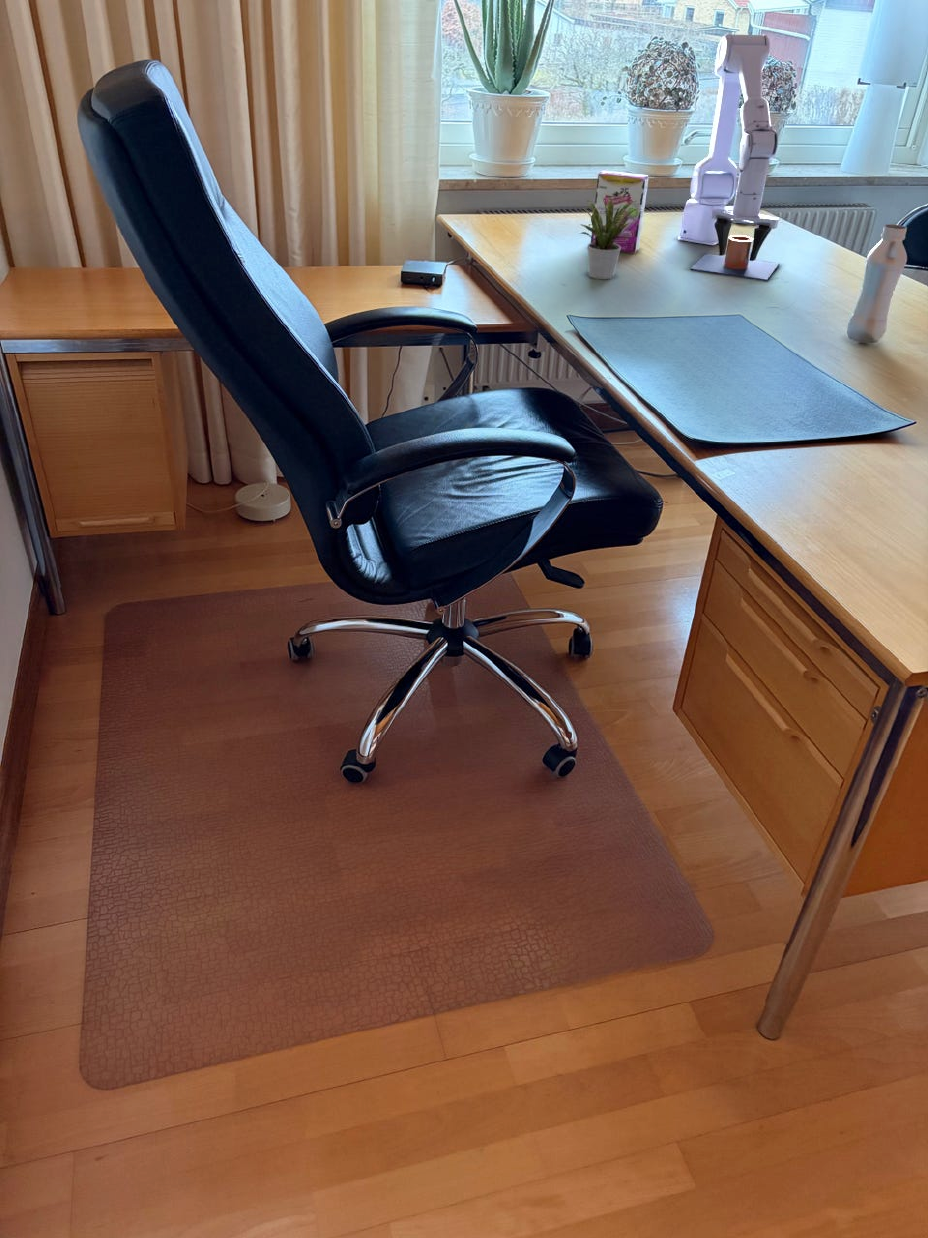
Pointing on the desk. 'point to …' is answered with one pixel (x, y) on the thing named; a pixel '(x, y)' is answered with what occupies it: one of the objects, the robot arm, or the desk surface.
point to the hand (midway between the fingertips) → (737, 257)
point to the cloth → (753, 271)
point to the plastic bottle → (878, 286)
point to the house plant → (605, 240)
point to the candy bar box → (620, 193)
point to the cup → (738, 252)
